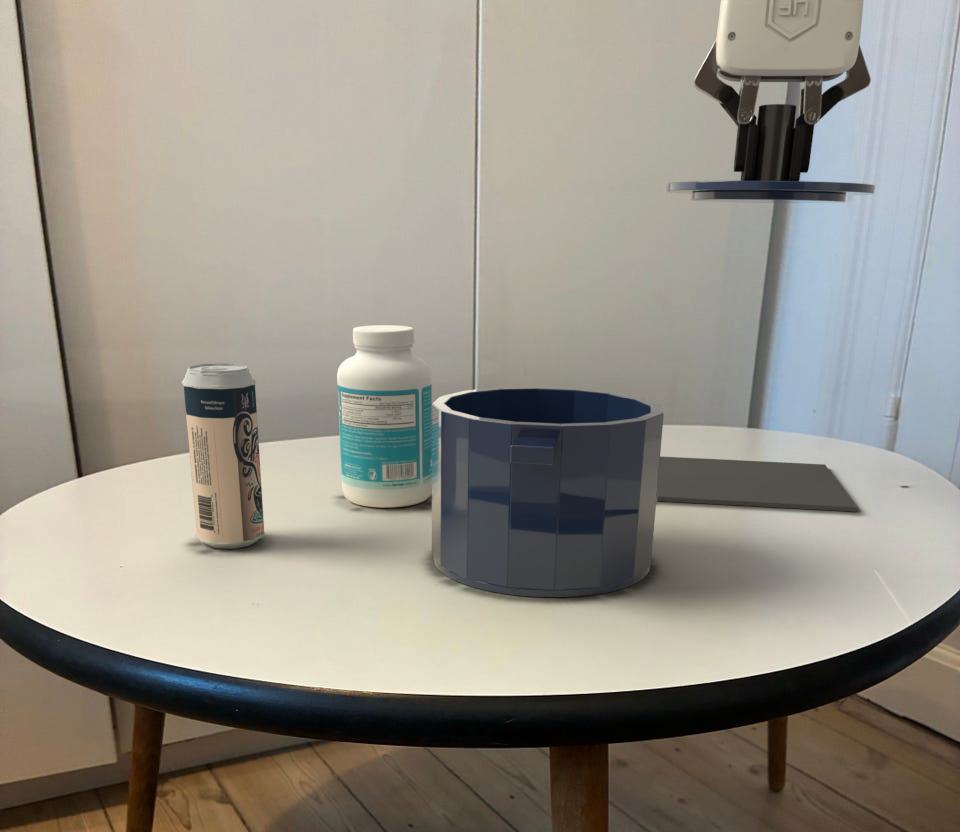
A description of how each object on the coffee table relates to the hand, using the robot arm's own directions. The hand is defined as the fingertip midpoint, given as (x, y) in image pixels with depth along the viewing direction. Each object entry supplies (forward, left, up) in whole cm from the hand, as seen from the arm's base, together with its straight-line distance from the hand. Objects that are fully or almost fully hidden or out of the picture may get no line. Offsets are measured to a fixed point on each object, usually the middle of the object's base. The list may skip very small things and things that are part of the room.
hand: (769, 180), depth 80 cm
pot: (+15, +24, -25) cm, 37 cm away
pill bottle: (+29, +10, -25) cm, 39 cm away
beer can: (+37, +24, -25) cm, 50 cm away
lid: (0, 0, -1) cm, 1 cm away
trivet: (-1, -2, -25) cm, 25 cm away
